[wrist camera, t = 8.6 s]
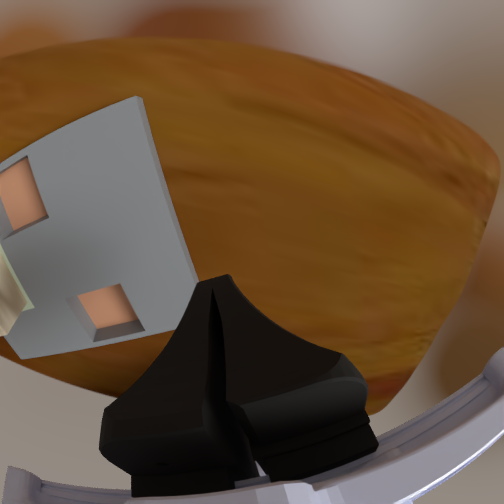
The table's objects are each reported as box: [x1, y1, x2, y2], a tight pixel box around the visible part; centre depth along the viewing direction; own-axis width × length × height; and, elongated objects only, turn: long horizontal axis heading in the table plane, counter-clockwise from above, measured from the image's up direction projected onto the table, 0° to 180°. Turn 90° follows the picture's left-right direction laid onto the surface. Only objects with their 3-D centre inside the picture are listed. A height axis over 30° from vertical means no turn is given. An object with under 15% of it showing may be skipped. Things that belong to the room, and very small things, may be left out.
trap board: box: [0, 96, 199, 359], centre depth 17 cm, size 16×20×2 cm
